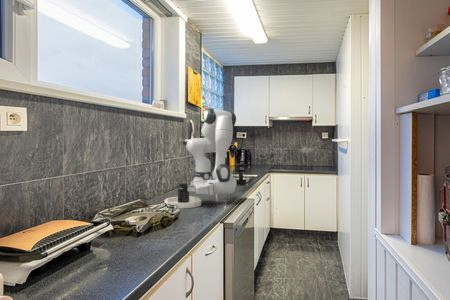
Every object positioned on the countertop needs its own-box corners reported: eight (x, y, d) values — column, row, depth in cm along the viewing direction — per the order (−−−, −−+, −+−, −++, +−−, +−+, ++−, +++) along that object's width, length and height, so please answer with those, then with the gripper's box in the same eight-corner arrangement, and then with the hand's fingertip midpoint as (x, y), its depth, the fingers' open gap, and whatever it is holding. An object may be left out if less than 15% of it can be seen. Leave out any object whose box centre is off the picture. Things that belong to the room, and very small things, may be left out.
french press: (248, 183, 278) (248, 156, 277) (246, 185, 269) (246, 157, 268) (234, 183, 281) (234, 156, 280) (232, 184, 271) (232, 157, 270)
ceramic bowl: (160, 203, 197) (160, 198, 197) (193, 199, 207) (193, 195, 207) (171, 209, 179) (171, 204, 179) (206, 206, 188) (206, 200, 188)
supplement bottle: (175, 203, 194) (175, 182, 193) (185, 201, 198) (185, 181, 197) (181, 204, 188) (180, 184, 188) (191, 203, 192) (191, 183, 192)
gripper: (207, 180, 206) (185, 180, 203) (212, 184, 186) (188, 185, 183) (207, 190, 206) (185, 190, 203) (212, 195, 186) (188, 196, 183)
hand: (186, 188), depth 193 cm, fingers open, 8 cm apart
